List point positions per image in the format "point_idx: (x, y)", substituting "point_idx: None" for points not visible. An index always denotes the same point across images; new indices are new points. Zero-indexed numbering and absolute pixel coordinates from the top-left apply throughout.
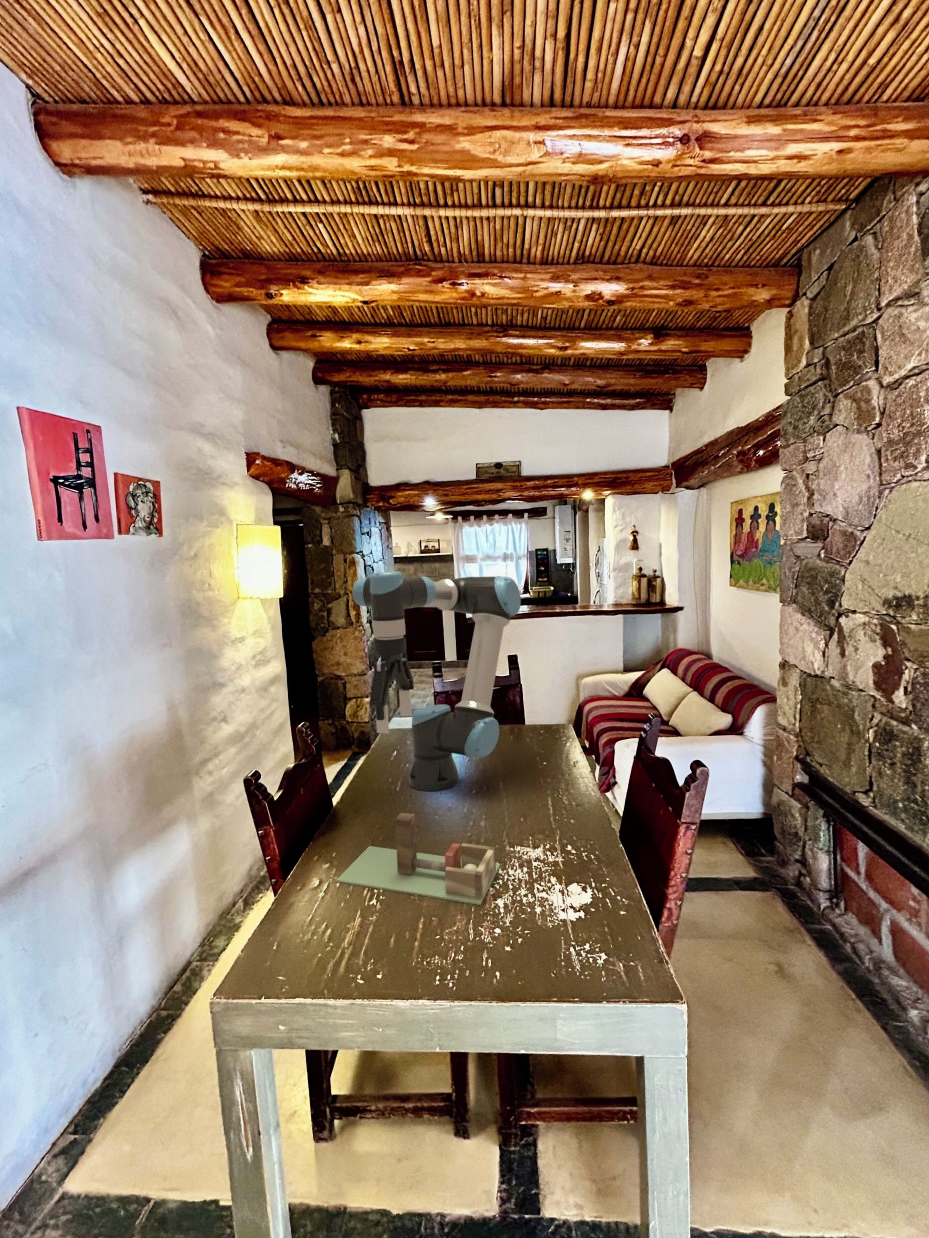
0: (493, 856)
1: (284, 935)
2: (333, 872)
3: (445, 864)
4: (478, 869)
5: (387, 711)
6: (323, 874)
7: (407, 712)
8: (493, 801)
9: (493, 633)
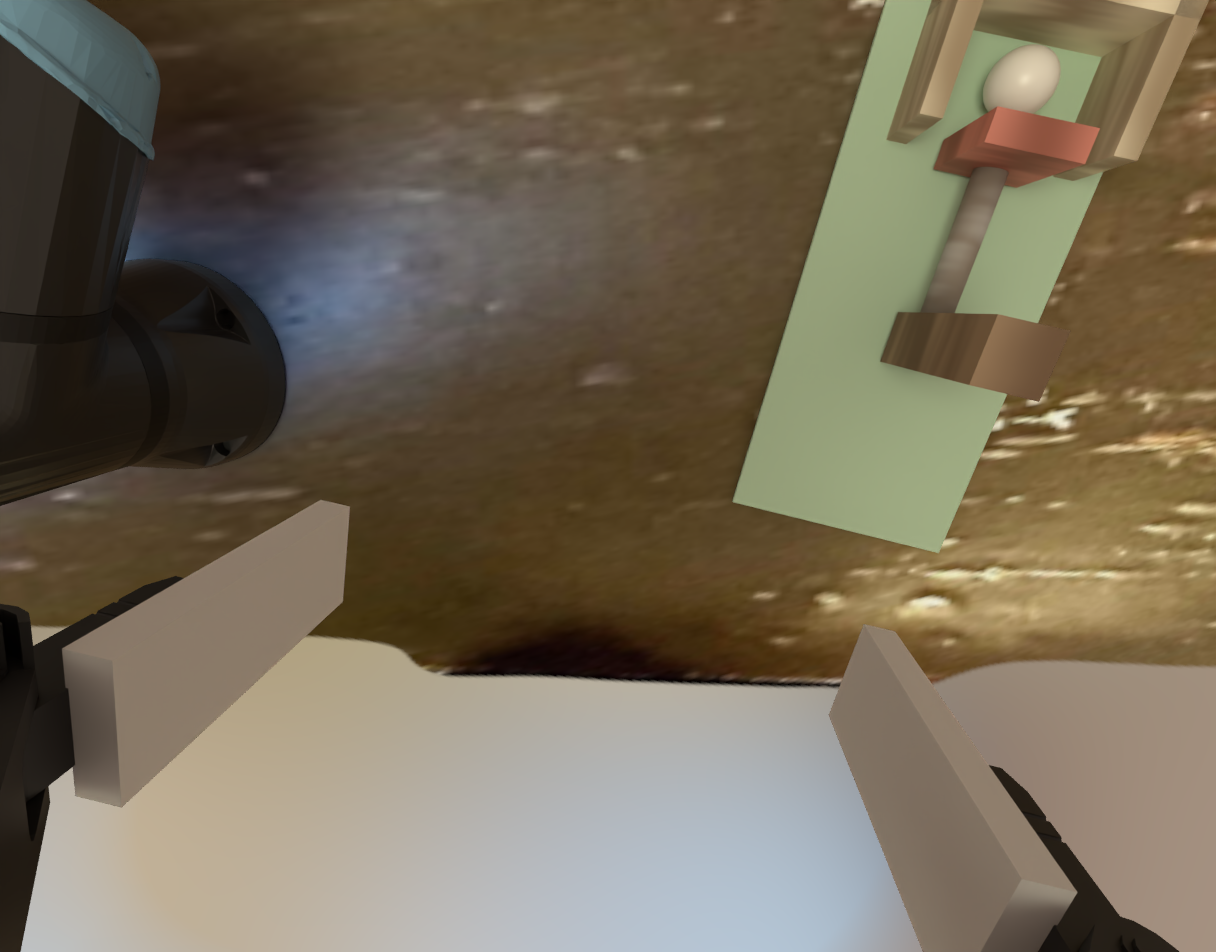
0: None
1: (1183, 614)
2: (873, 571)
3: (1060, 172)
4: (1164, 4)
5: (973, 791)
6: (882, 596)
7: (326, 549)
8: (335, 73)
9: None
